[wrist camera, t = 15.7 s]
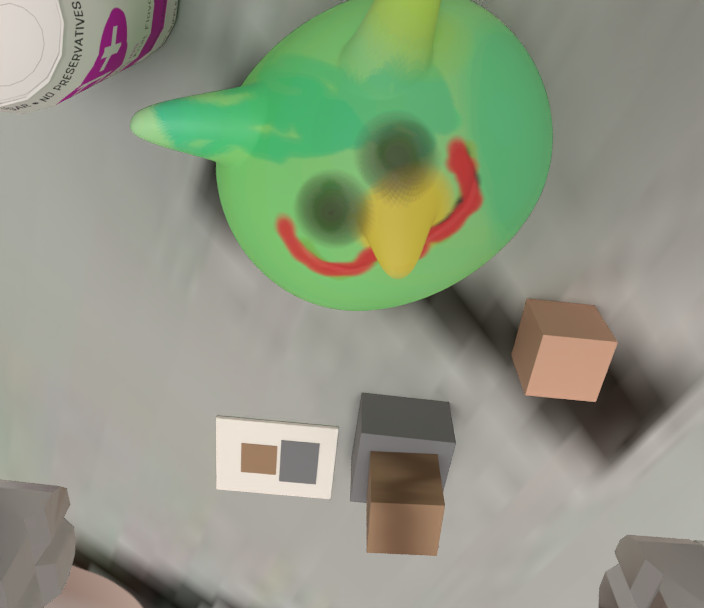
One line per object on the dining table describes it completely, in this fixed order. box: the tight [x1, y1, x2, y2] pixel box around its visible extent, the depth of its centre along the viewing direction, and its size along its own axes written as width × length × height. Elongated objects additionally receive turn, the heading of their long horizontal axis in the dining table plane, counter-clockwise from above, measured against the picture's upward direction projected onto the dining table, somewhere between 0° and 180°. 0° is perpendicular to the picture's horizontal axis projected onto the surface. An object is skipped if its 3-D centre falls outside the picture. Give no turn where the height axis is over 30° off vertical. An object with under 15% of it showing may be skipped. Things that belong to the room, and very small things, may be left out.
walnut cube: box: [367, 451, 445, 556], centre depth 46 cm, size 5×5×5 cm
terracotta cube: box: [511, 299, 618, 402], centre depth 45 cm, size 5×5×5 cm
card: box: [216, 416, 339, 499], centre depth 54 cm, size 10×8×1 cm
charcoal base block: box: [350, 393, 456, 503], centre depth 51 cm, size 7×7×5 cm
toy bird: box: [130, 0, 553, 311], centre depth 34 cm, size 18×17×15 cm
